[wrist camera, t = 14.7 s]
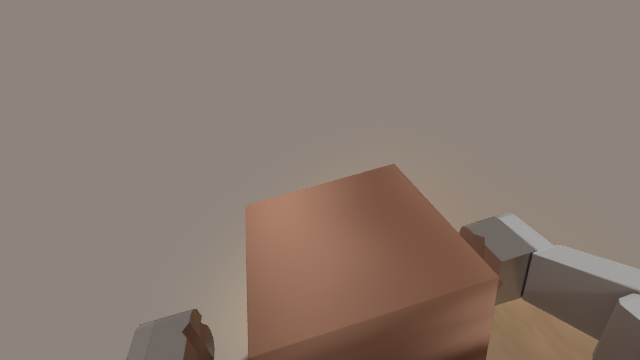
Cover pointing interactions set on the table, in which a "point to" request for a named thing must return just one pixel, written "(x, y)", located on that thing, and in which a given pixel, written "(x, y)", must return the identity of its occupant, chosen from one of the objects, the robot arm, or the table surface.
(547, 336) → the table surface
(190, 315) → the robot arm
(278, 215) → the terracotta tall block
